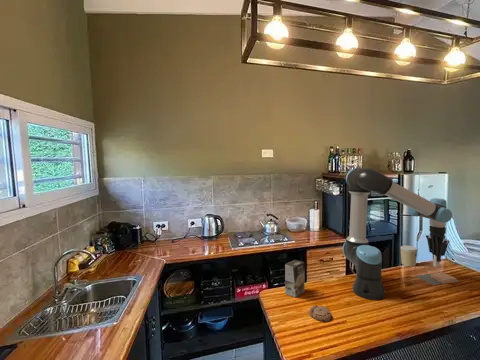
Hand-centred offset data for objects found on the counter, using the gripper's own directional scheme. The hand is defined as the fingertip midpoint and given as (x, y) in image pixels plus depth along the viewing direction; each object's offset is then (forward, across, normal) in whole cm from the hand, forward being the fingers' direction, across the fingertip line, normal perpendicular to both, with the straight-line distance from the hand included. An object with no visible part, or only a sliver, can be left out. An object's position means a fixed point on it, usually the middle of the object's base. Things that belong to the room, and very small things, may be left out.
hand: (436, 266), depth 154 cm
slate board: (+7, -2, +2) cm, 8 cm away
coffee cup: (+7, +20, 0) cm, 21 cm away
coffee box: (+8, +4, +85) cm, 85 cm away
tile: (+5, 0, 0) cm, 5 cm away
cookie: (+8, -18, +82) cm, 84 cm away
